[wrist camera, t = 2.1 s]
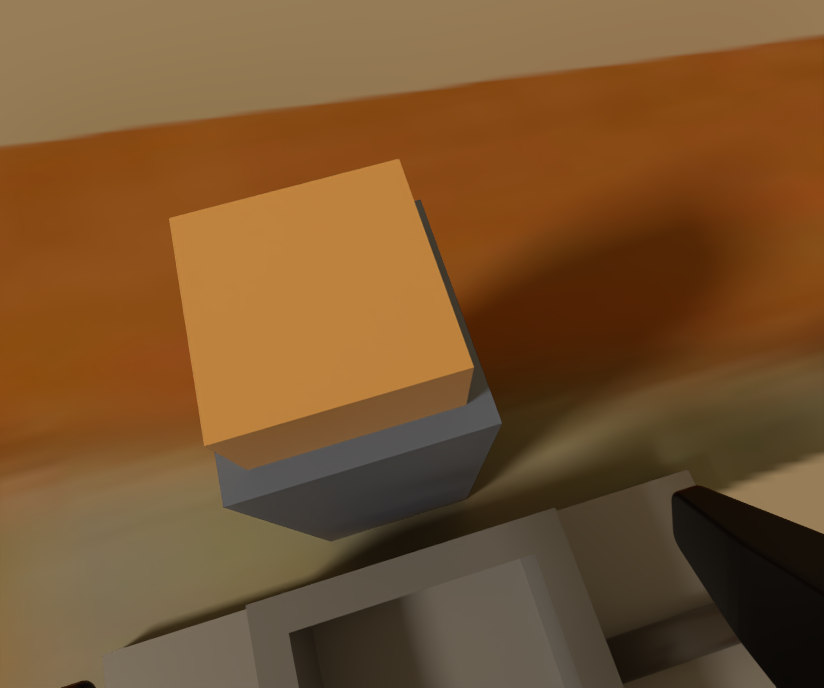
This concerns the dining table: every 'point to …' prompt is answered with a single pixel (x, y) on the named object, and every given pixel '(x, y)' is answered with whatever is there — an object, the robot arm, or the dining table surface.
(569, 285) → the dining table surface
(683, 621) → the end holder
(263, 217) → the orange-capped square pillar
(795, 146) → the dining table surface
